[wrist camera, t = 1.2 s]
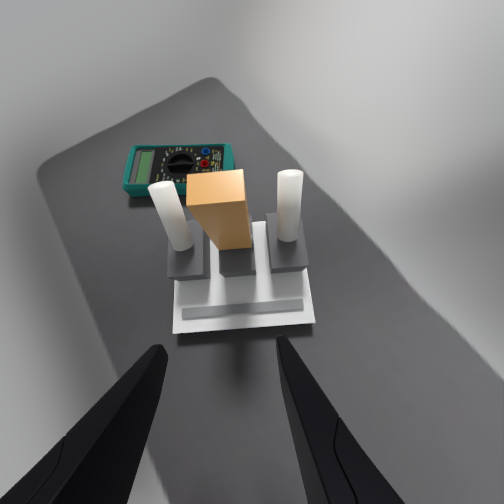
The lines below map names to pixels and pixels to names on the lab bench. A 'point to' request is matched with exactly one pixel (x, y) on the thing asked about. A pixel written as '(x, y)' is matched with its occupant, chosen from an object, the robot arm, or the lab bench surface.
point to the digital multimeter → (173, 165)
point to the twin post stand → (238, 266)
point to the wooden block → (221, 207)
